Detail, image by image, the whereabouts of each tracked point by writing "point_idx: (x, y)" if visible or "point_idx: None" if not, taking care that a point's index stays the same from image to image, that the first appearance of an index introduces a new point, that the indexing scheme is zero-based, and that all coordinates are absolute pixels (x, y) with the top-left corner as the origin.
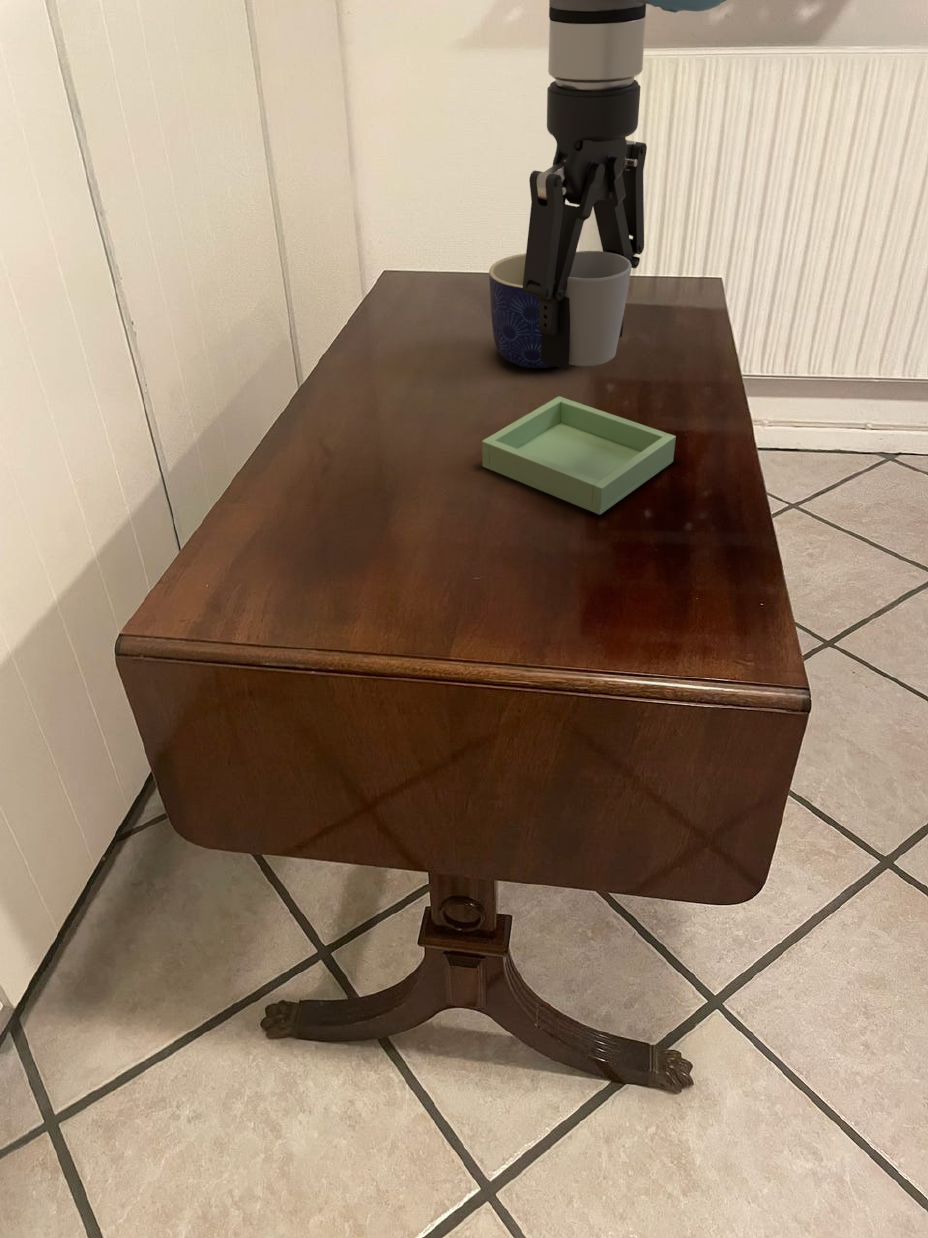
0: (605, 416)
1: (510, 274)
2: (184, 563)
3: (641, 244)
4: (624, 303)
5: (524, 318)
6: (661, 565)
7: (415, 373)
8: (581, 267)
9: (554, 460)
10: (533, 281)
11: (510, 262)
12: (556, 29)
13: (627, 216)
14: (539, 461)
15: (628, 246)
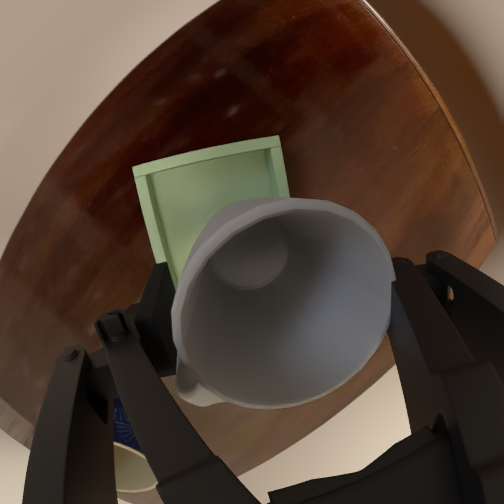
0: (163, 253)
1: (125, 478)
2: None
3: (67, 358)
4: (228, 210)
5: None
6: (284, 54)
7: (230, 430)
8: (239, 372)
9: None
10: (447, 296)
11: (124, 486)
12: None
13: (90, 435)
14: None
15: (118, 357)
